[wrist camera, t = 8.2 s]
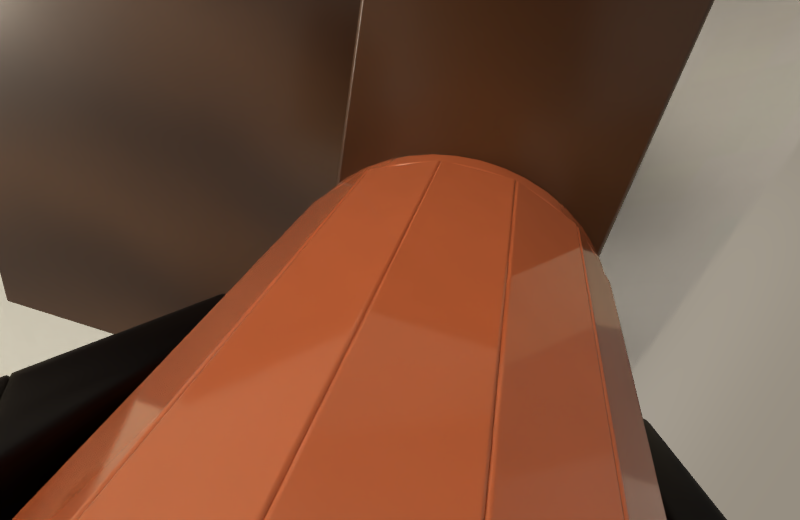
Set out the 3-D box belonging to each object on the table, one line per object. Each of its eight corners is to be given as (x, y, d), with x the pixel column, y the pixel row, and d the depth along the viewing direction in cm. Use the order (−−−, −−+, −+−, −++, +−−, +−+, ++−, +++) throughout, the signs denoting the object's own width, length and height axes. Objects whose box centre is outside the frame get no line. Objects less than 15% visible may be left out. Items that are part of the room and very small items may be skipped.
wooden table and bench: (493, 351, 21) (472, 538, 14) (107, 238, 22) (-81, 355, 16) (641, -53, 14) (749, -75, 7) (56, -175, 15) (-335, -293, 8)
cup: (669, 207, 9) (1179, 1108, 2) (543, 456, 12) (554, 1110, 5) (305, 113, 9) (-342, 518, 2) (281, 375, 13) (-22, 858, 6)
